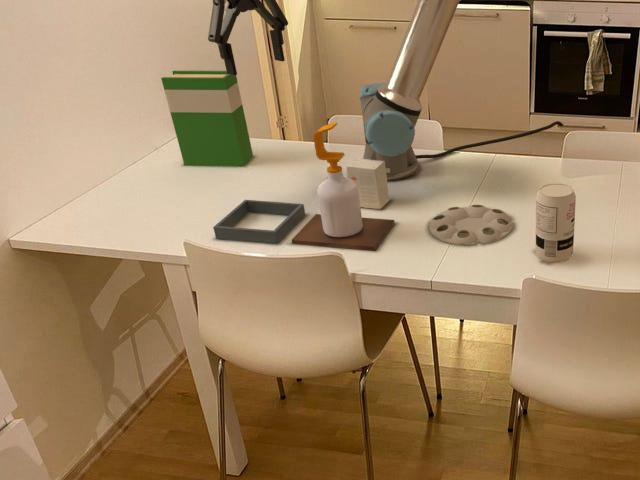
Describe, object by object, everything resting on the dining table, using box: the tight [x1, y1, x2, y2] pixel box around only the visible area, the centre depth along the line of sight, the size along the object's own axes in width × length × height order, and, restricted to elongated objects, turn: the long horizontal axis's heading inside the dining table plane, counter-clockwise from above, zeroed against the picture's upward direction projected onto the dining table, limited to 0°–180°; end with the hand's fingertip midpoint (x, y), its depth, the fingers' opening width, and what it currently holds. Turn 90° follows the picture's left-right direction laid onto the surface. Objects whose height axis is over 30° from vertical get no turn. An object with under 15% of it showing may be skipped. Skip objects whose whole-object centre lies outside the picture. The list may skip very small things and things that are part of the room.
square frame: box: [212, 199, 306, 245], centre depth 179 cm, size 16×16×3 cm
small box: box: [345, 158, 391, 210], centre depth 186 cm, size 8×6×10 cm
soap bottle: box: [313, 121, 363, 237], centre depth 168 cm, size 9×9×25 cm
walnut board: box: [291, 213, 396, 252], centre depth 175 cm, size 20×14×1 cm
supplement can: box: [534, 182, 577, 263], centre depth 159 cm, size 8×8×15 cm
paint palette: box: [429, 204, 514, 246], centre depth 176 cm, size 20×20×2 cm
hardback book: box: [160, 70, 254, 167], centre depth 209 cm, size 18×7×24 cm, turn 83°
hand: (256, 67), depth 173 cm, fingers open, 13 cm apart
